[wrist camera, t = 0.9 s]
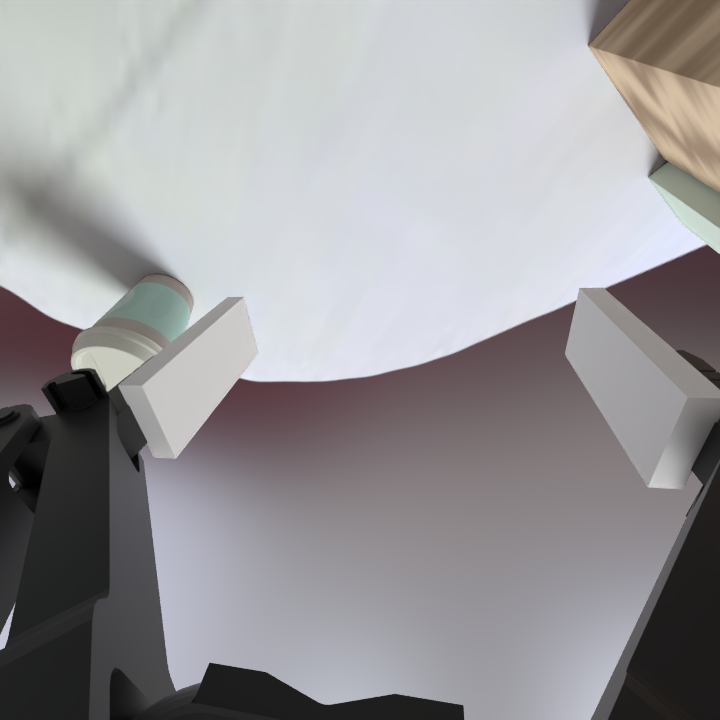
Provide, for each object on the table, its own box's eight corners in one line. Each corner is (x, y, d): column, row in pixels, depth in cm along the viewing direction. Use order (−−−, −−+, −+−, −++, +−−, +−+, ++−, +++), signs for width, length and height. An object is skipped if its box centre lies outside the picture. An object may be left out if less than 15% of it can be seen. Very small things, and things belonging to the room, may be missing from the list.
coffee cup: (141, 246, 37) (78, 324, 29) (219, 294, 41) (183, 374, 33) (114, 297, 42) (52, 377, 34) (186, 335, 46) (147, 415, 38)
